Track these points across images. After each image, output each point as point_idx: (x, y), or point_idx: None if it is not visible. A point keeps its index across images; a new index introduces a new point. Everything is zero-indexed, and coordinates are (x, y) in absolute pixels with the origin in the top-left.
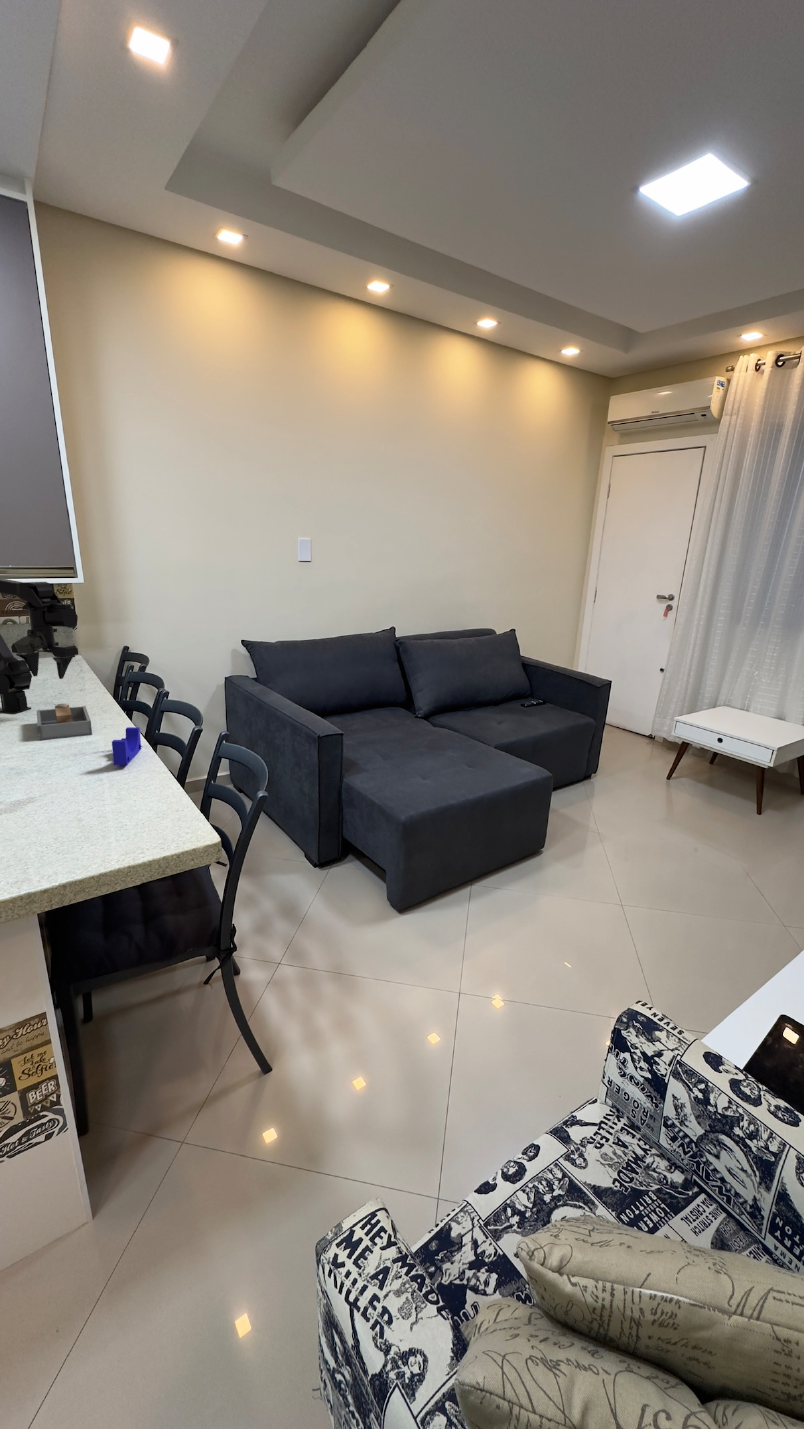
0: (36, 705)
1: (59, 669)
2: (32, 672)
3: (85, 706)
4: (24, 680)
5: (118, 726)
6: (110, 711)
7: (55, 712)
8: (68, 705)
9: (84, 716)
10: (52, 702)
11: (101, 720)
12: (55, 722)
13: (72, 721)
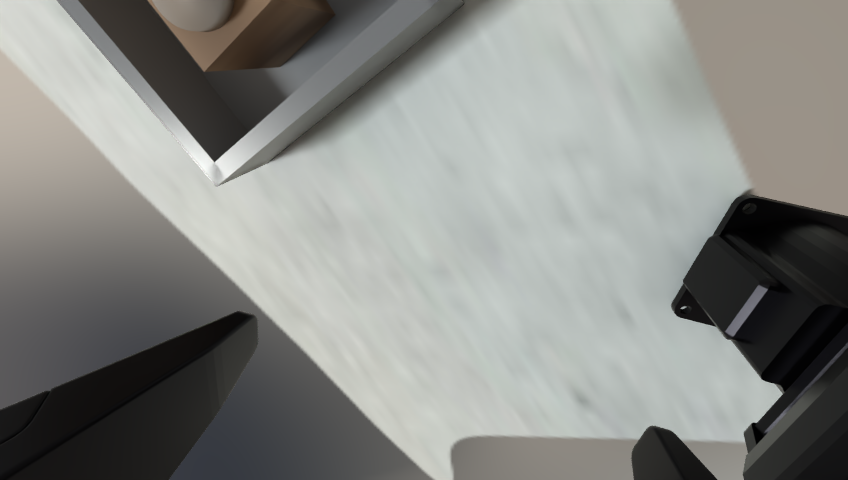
0: (679, 384)
1: (79, 387)
2: (700, 477)
3: (209, 178)
4: (807, 437)
5: (28, 48)
6: (261, 302)
7: (300, 4)
8: (184, 41)
9: (172, 68)
10: (617, 431)
11: None
12: (338, 6)
13: None
